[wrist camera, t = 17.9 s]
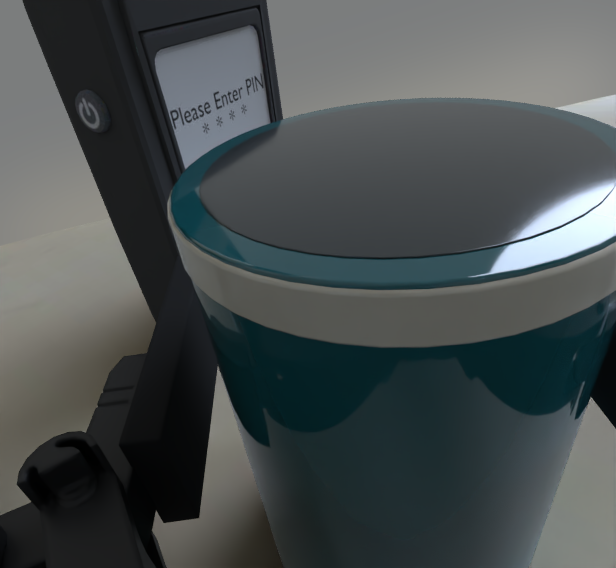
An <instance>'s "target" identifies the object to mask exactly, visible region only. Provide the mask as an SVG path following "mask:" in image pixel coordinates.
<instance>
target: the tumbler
mask: <svg viewBox="0 0 616 568" xmlns="http://www.w3.org/2000/svg"><path fill="white" fill-rule="evenodd" d="M167 217H168V222H169V225H170V228H171V231H172V234H173V237H174V240H175V243H176V246H177V249H178V252H179V255H180V258H181V261H182V263H183V266H184V268H185V270H186V272H187V273H188V275H189V276H190V279H191V282H192V285H193V288H194V291H195V295H196V298H197V301H198V304H199V307H200V310H201V313H202V316H203V319H204V323H205V326H206V329H207V332H208V335H209V338H210V341H211V344H212V347H213V351H214V354H215V357H216V360H217V363H218V366H219V369H220V372H221V375H222V379H223V382H224V385H225V388H226V391H227V394H228V397H229V400H230V403H231V407H232V410H233V413H234V416H235V419H236V422H237V425H238V428H239V431H240V435H241V438H242V441H243V444H244V447H245V450H246V453H247V456H248V459H249V463H250V466H251V469H252V472H253V475H254V478H255V481H256V484H257V487H258V491H259V494H260V497H261V500H262V503H263V506H264V509H265V512H266V515H267V519H268V522H269V525H270V528H271V531H272V534H273V537H274V540H275V543H276V547H277V550H278V553H279V556H280V559H281V561H282V564H283V567H284V568H529V566H530V564H531V561H532V558H533V555H534V553H535V550H536V547H537V544H538V541H539V539H540V536H541V533H542V530H543V528H544V525H545V522H546V519H547V516H548V514H549V511H550V508H551V505H552V503H553V500H554V497H555V494H556V491H557V489H558V486H559V483H560V480H561V477H562V475H563V472H564V469H565V466H566V464H567V461H568V458H569V455H570V452H571V450H572V447H573V444H574V441H575V439H576V436H577V433H578V430H579V427H580V425H581V422H582V419H583V416H584V414H585V411H586V408H587V405H588V402H589V400H590V397H591V394H592V391H593V388H594V386H595V383H596V380H597V377H598V375H599V372H600V369H601V366H602V363H603V361H604V358H605V355H606V352H607V350H608V347H609V344H610V341H611V338H612V336H613V333H614V330H615V327H616V128H614V127H612V126H610V125H608V124H605V123H602V122H600V121H597V120H594V119H592V118H589V117H585V116H582V115H578V114H575V113H572V112H568V111H563V110H559V109H555V108H550V107H545V106H539V105H533V104H527V103H518V102H510V101H502V100H489V99H472V98H471V99H470V98H418V99H400V100H388V101H377V102H369V103H361V104H353V105H347V106H341V107H334V108H329V109H324V110H319V111H314V112H310V113H306V114H301V115H298V116H294V117H291V118H286V119H283V120H279V121H276V122H273V123H270V124H267V125H264V126H261V127H258V128H255V129H253V130H250V131H248V132H245V133H243V134H241V135H238V136H236V137H234V138H232V139H230V140H227V141H226V142H224V143H222V144H220V145H218V146H216V147H215V148H213V149H211V150H210V151H208V152H207V153H205V154H204V155H202V156H201V157H199V158H198V159H197V160H196V161H194V162H193V163H192V164H191V165H190V166H188V167H187V169H186V170H185V171H184V172H183V173H182V174H181V175H180V176H179V178H178V180H177V181H176V183H175V185H174V186H173V188H172V190H171V192H170V196H169V199H168V203H167Z"/></svg>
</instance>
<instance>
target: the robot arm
mask: <svg viewBox="0 0 616 568" xmlns="http://www.w3.org/2000/svg"><path fill="white" fill-rule="evenodd" d="M217 366H218V363H217V360H216V357H215V354H214V351H213V347H212V344H211V341H210V338H209V335H208V332H207V329H206V326H205V323H204V319H203V316H202V313H201V310H200V307H199V304H198V301H197V298H196V295H195V291H194V288H193V285H192V282H191V279H190V276H189V275H188V273H187V272H186V270H185V268H184V266H183V263H182V261H181V258H180V256H177V259H176V262H175V265H174V269H173V272H172V275H171V278H170V281H169V285H168V288H167V291H166V294H165V297H164V301H163V304H162V307H161V310H160V313H159V317H158V320H157V323H156V326H155V329H154V332H153V336H152V339H151V342H150V345H149V348H148V352H147V353H145V354H138V355H131V356H124V357H123V358H122V359H121V360H120V361H119V362H118V364H117V365H116V366H115V367H114V368H113V369H112V370H111V372H110V373H109V376H108V378H107V381H106V383H105V386H104V388H103V393H101V396H100V399H99V401H98V404H97V405H98V407H97V408H96V409H95V411H94V414H93V416H92V419H91V421H90V424H89V427H88V429H87V432H86V433H85V432H82V431H76V432H67V433H64V434H61V435H58V436H56V437H53V438H52V439H50V440H48V441H47V442H45V443H44V444H42V445H41V446H39V447H38V448H37V449H36V450H35V451H34V452H33V453H32V454H31V455H30V456H29V457H28V458H27V459H26V461H25V463H24V464H23V466H22V468H21V469H20V471H19V475H18V481H17V485H18V487H19V488H20V489H21V490H22V491H23V492H24V493H25V495H26V496H27V497H28V498H29V499H30V500H31V503H29V504H26V505H24V506H22V507H19V508H17V509H14V510H12V511H10V512H7V513H5V514H3V515H0V568H167V567H166V565H165V562H164V559H163V556H162V553H161V550H160V547H159V544H158V541H157V539H156V537H155V535H154V534H153V532H152V527H153V522H154V517H155V512H156V510H157V512H158V514H159V516H160V517H161V519H162V521H163V523H167V522H174V521H181V520H189V519H196V518H199V514H200V505H201V497H202V489H203V481H204V473H205V464H206V456H207V448H208V440H209V432H210V424H211V415H212V407H213V399H214V391H215V383H216V375H217ZM591 397H592V398H593V400H594V401H595V402H596V404H597V405H598V406H599V408H600V409H601V410H602V411H603V413H604V414H605V415H606V417H607V418H608V419H609V420H610V422H611V423H612V424H613V426H614V427H615V428H616V327H615V330H614V333H613V336H612V338H611V341H610V344H609V347H608V350H607V352H606V355H605V358H604V361H603V363H602V366H601V369H600V372H599V375H598V377H597V380H596V383H595V386H594V388H593V391H592V394H591Z"/></svg>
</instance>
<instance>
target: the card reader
mask: <svg viewBox="0 0 616 568" xmlns="http://www.w3.org/2000/svg"><path fill="white" fill-rule="evenodd" d="M23 3H24V6H25V9H26V12H27V14H28V17H29V19H30V22H31V24H32V27H33V29H34V32H35V34H36V37H37V39H38V42H39V44H40V47H41V49H42V52H43V54H44V57H45V59H46V62H47V64H48V67H49V69H50V72H51V74H52V76H53V79H54V81H55V84H56V86H57V88H58V91H59V94H60V96H61V98H62V101H63V103H64V106H65V108H66V111H67V113H68V115H69V118H70V120H71V123H72V125H73V128H74V130H75V133H76V135H77V138H78V140H79V142H80V145H81V147H82V150H83V152H84V155H85V157H86V160H87V162H88V164H89V167H90V169H91V172H92V174H93V177H94V179H95V181H96V184H97V186H98V189H99V191H100V194H101V196H102V199H103V201H104V204H105V206H106V208H107V211H108V213H109V216H110V218H111V221H112V223H113V226H114V228H115V231H116V233H117V235H118V238H119V240H120V242H121V245H122V247H123V249H124V251H125V254H126V256H127V258H128V261H129V263H130V265H131V267H132V270H133V272H134V274H135V277H136V279H137V281H138V283H139V286H140V288H141V290H142V293H143V295H144V297H145V299H146V302H147V304H148V306H149V309H150V311H151V313H152V315H153V317H154V319H155V321H156V323H157V320H158V317H159V313H160V310H161V307H162V304H163V301H164V297H165V294H166V291H167V288H168V285H169V281H170V278H171V275H172V272H173V269H174V265H175V262H176V259H177V256H180V255H179V252H178V249H177V246H176V243H175V240H174V237H173V234H172V231H171V228H170V225H169V222H168V217H167V203H168V199H169V196H170V192H171V190H172V188H173V186H174V185H175V183H176V181H177V180H178V178H179V176H180V175H181V174H182V173H183V172H184V171H185V170H186V169H187V167H188V166H190V165H191V164H192V163H193V162H194V161H196V160H197V159H198V158H199V157H201V156H202V155H204V154H205V153H207V152H208V151H210V150H211V149H213V148H215V147H216V146H218V145H220V144H222V143H224V142H226V141H227V140H230V139H232V138H234V137H236V136H238V135H241V134H243V133H245V132H248V131H250V130H253V129H255V128H258V127H261V126H264V125H267V124H270V123H273V122H276V121H279V120H283V116H282V109H281V102H280V94H279V87H278V80H277V73H276V66H275V59H274V52H273V44H272V39H271V38H272V37H271V30H270V23H269V16H268V9H267V2H266V0H23Z"/></svg>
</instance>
